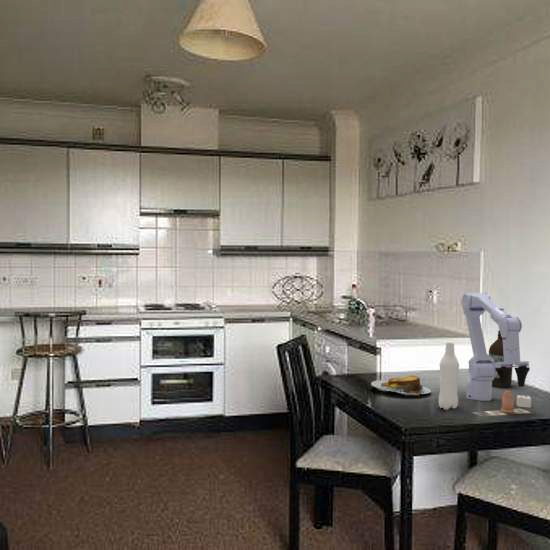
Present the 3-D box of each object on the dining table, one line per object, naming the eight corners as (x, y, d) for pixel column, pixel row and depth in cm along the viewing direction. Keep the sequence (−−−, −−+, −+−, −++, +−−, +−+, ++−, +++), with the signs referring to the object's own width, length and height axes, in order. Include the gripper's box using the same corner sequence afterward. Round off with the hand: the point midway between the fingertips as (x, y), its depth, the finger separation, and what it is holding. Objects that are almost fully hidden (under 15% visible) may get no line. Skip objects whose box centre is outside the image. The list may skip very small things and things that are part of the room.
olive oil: (495, 382, 282) (497, 328, 281) (517, 386, 273) (519, 331, 272) (482, 385, 275) (484, 330, 274) (504, 389, 267) (506, 333, 266)
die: (518, 409, 233) (518, 397, 233) (516, 406, 238) (516, 395, 238) (530, 410, 232) (531, 398, 232) (528, 407, 237) (529, 395, 236)
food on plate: (371, 384, 274) (371, 369, 273) (427, 387, 270) (428, 372, 270) (371, 397, 249) (371, 381, 248) (433, 401, 245) (434, 385, 244)
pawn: (500, 412, 224) (500, 390, 224) (501, 409, 228) (502, 388, 228) (513, 414, 222) (514, 392, 222) (515, 411, 226) (515, 390, 226)
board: (483, 419, 217) (483, 417, 217) (470, 414, 224) (470, 412, 224) (532, 415, 225) (532, 412, 225) (518, 410, 231) (518, 408, 231)
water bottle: (458, 411, 228) (461, 345, 227) (439, 410, 229) (441, 344, 228) (456, 407, 235) (458, 342, 234) (437, 405, 236) (439, 341, 235)
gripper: (504, 350, 220) (506, 388, 218) (534, 349, 225) (536, 386, 224) (490, 350, 226) (492, 387, 225) (519, 349, 232) (521, 385, 230)
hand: (513, 387), depth 225 cm, fingers open, 7 cm apart
